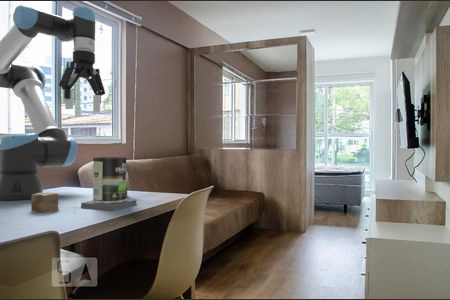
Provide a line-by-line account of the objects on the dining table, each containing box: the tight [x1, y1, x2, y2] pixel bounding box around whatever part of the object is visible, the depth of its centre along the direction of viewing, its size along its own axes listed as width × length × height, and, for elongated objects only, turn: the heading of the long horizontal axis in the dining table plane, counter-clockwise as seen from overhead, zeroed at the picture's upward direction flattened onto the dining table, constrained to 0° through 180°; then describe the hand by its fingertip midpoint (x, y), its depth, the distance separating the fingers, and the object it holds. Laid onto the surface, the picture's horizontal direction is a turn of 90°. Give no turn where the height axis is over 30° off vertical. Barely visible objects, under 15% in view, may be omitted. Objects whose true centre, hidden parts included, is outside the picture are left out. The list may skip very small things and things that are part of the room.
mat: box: [80, 198, 137, 211], centre depth 113 cm, size 12×12×2 cm
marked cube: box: [30, 191, 59, 214], centre depth 104 cm, size 5×5×5 cm
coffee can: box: [92, 156, 128, 204], centre depth 113 cm, size 10×10×14 cm
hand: (83, 110), depth 127 cm, fingers open, 13 cm apart
